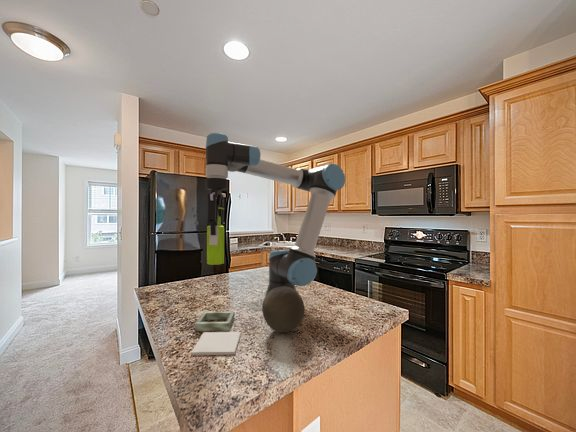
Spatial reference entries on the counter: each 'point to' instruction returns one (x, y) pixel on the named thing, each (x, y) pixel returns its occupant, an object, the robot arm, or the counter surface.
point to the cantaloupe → (283, 309)
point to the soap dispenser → (216, 251)
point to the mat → (217, 343)
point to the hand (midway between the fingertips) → (216, 243)
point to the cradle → (214, 326)
